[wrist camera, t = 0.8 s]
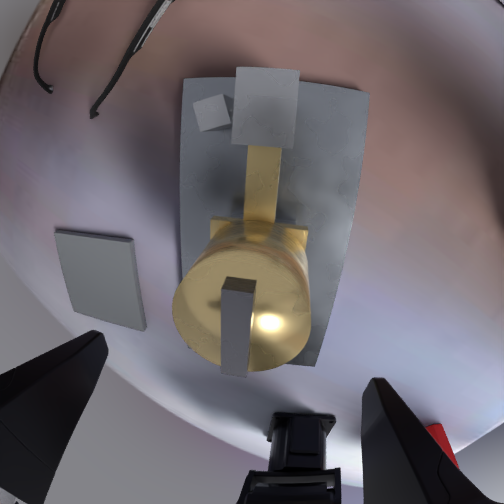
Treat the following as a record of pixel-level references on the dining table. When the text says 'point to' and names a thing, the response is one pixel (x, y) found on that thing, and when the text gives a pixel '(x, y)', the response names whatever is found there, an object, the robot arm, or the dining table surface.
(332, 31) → the dining table surface
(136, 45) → the sunglasses
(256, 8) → the dining table surface
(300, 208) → the lock base
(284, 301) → the gold rounded piece
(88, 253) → the mat
